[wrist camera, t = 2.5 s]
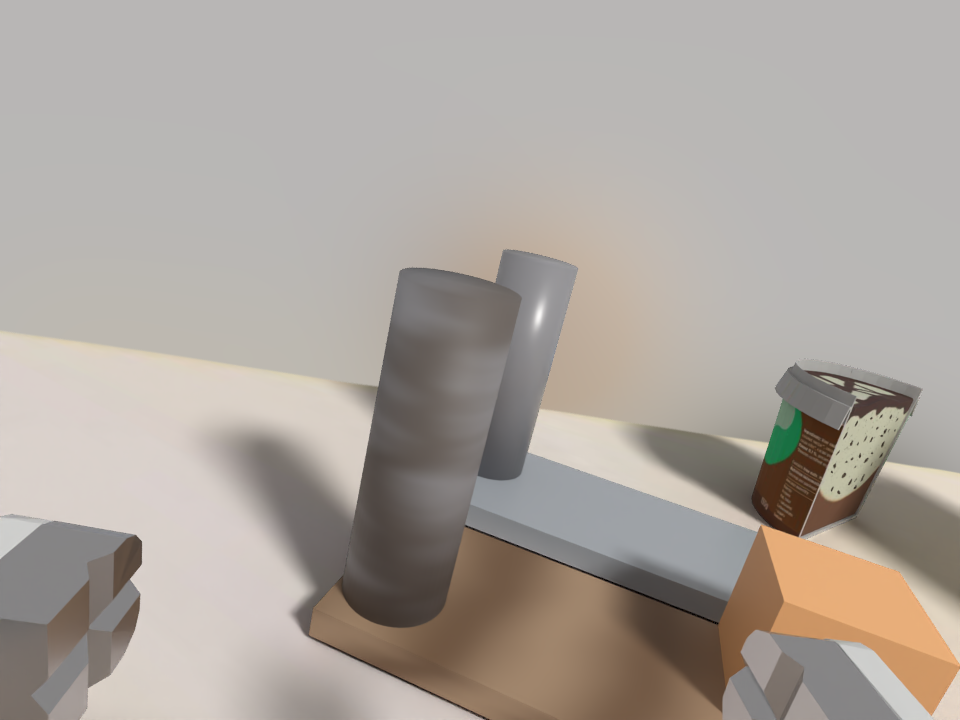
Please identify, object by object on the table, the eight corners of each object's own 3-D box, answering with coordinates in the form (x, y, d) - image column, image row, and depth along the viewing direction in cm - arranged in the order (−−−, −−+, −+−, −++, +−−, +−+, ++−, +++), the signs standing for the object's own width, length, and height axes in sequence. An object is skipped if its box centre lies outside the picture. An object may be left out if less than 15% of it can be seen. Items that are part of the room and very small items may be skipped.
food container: (784, 470, 47) (833, 355, 44) (864, 514, 43) (925, 388, 40) (698, 493, 40) (751, 355, 37) (784, 548, 35) (852, 396, 32)
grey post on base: (419, 507, 30) (475, 255, 26) (468, 450, 38) (518, 247, 34) (883, 686, 25) (1038, 408, 21) (834, 579, 33) (942, 358, 29)
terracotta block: (729, 719, 20) (784, 601, 18) (718, 625, 25) (761, 524, 23) (889, 786, 19) (961, 666, 17) (845, 674, 23) (899, 572, 22)
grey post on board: (308, 635, 21) (369, 275, 17) (403, 525, 28) (460, 258, 24) (1009, 961, 16) (1325, 554, 12) (900, 724, 23) (1073, 426, 19)
